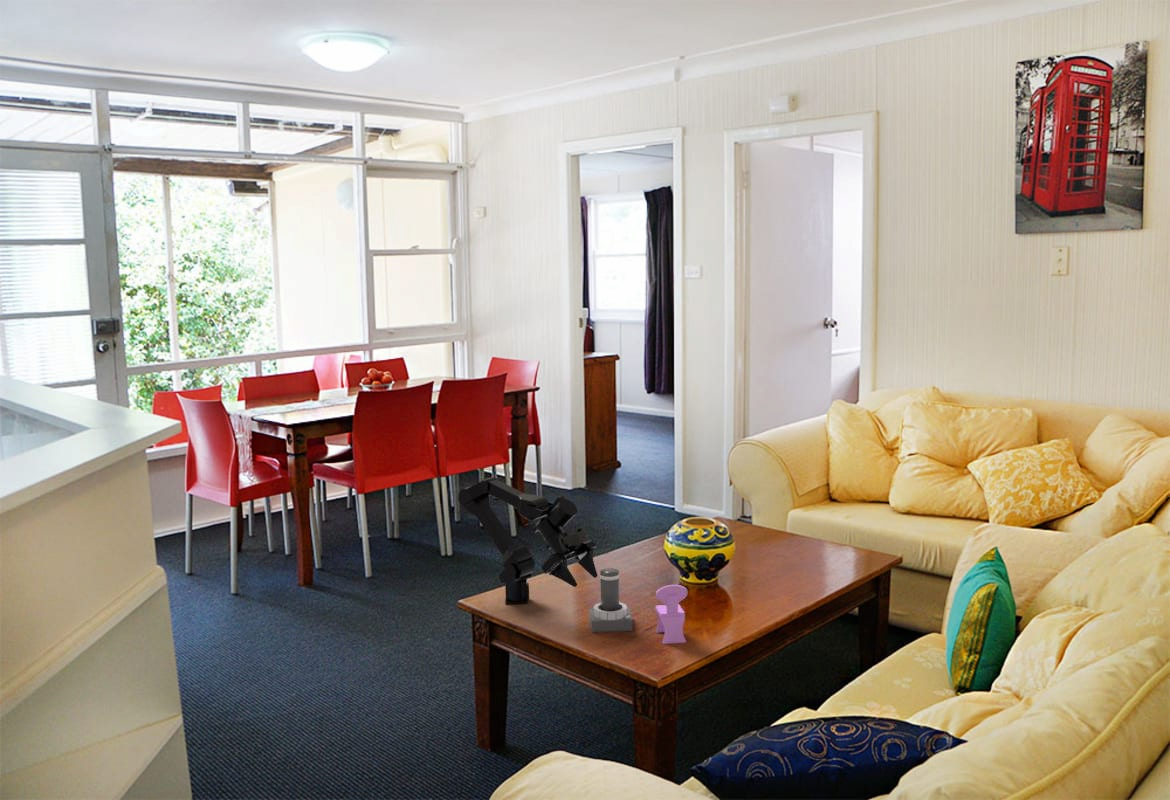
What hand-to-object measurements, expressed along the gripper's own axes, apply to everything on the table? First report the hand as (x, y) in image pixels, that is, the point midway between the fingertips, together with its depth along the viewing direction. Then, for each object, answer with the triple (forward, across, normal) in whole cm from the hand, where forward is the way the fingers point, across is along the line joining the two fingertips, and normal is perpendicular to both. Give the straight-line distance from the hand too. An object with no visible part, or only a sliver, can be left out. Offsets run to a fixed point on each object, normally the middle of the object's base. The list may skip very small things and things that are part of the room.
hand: (586, 581), depth 262 cm
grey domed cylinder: (+11, 0, 0) cm, 11 cm away
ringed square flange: (+13, 0, +2) cm, 13 cm away
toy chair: (+26, +2, -11) cm, 28 cm away
